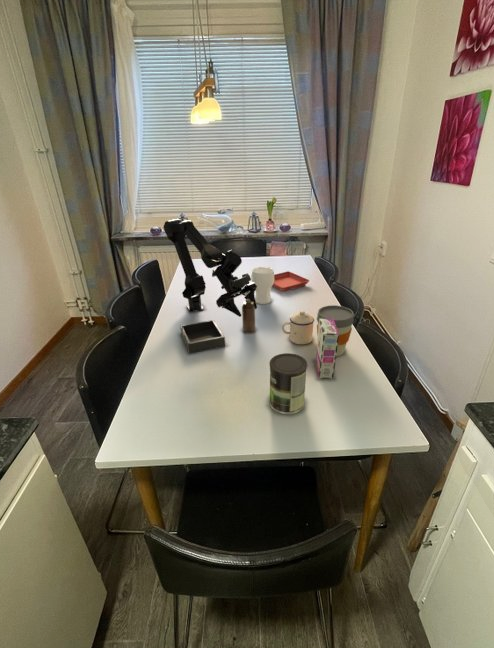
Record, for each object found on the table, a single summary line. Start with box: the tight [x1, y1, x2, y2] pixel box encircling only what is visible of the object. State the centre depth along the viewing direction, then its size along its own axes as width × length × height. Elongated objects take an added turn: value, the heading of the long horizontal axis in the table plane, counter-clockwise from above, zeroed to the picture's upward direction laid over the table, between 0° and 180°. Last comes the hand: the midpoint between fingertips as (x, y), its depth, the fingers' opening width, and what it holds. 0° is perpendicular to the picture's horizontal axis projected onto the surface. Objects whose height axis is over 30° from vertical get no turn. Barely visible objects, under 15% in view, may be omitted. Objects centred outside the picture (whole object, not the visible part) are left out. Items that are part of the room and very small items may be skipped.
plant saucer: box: [272, 271, 310, 292], centre depth 184 cm, size 18×18×3 cm
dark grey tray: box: [179, 319, 226, 354], centre depth 134 cm, size 16×14×4 cm
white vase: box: [250, 266, 275, 305], centre depth 163 cm, size 11×11×15 cm
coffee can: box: [268, 352, 308, 415], centre depth 99 cm, size 10×10×14 cm
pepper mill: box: [241, 299, 256, 334], centre depth 138 cm, size 5×5×14 cm
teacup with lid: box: [281, 310, 315, 345], centre depth 131 cm, size 12×9×12 cm
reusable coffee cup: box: [316, 304, 355, 357], centre depth 123 cm, size 13×13×15 cm
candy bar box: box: [315, 319, 339, 380], centre depth 112 cm, size 11×5×16 cm, turn 178°
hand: (248, 312), depth 137 cm, fingers open, 9 cm apart
